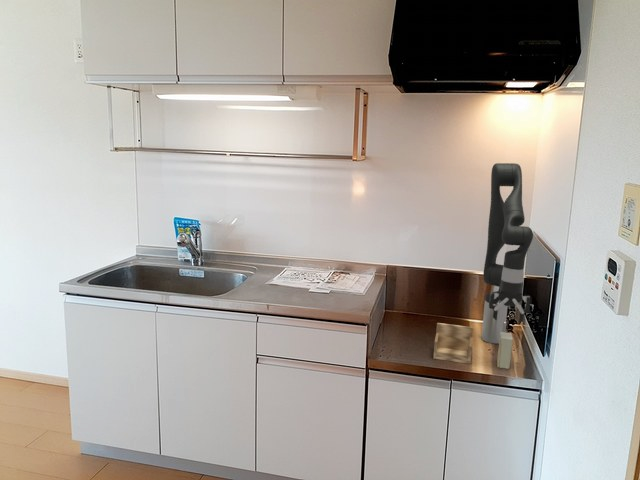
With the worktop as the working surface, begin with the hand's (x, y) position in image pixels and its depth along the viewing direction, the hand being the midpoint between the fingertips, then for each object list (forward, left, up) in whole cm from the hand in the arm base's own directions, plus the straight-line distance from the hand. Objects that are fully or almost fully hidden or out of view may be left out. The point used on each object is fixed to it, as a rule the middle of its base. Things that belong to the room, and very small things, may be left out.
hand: (507, 321), depth 188 cm
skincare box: (0, 0, -18) cm, 18 cm away
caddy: (+19, -2, -18) cm, 26 cm away
